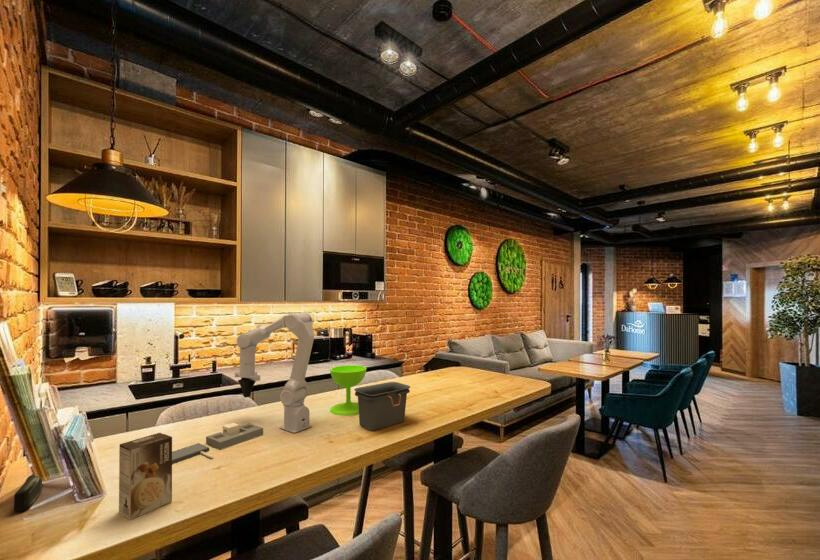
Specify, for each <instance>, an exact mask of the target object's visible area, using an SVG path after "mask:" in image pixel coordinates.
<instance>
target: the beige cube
mask: <svg viewBox="0 0 820 560" xmlns="http://www.w3.org/2000/svg"><path fill="white" fill-rule="evenodd" d="M239 426H240V424H238V423H235V422H231V423H227V424H224V425H222V433H224V434H227V435H229V436H232V435H235V434H238V433H239Z"/></svg>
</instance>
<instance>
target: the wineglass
mask: <svg viewBox="0 0 820 560" xmlns="http://www.w3.org/2000/svg"><path fill="white" fill-rule="evenodd" d="M366 374H367V367H366V366H363V365H352V364H351V365H350V364H347V365H337V366H334V367H332V368H330V376H331V378H332V380H333V381H334V383H335V384H337V385H339V386H340V387H343V388H345V389H346V390H345V391H346V392H345V396H346V397H345V402H341V403H337V404H335V405H332V407H331V408H329V409H330V410H329V411H330V413H331V414H333V415H337V416H354V415H359V407H358V402H355V401H354V402H352V401H351V393H352V391H351V390H352V389H351V388H352V387H355V386H357V385H359V384H360V383H362V381H363V380H364V378H365V376H366Z"/></svg>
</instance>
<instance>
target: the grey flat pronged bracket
mask: <svg viewBox="0 0 820 560" xmlns="http://www.w3.org/2000/svg"><path fill="white" fill-rule="evenodd" d="M208 452H210V447H208V446H206V445H204V444H202V443H199V442H197V443H196V444H192V445H188V446H186V447H185V446H184V447H183V448H182V447H181V448H180V449H179V448H178V449H177V450H172V465H173V464H176V463H179V462H182V461H185V460H187V458H188V459H191V458H193V457H196V456H200V455H202V456H205V457H207V458H209V459H212V460H213V459H214V455H211V454H209V453H208ZM190 457H191V458H190Z"/></svg>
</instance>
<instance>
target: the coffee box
mask: <svg viewBox="0 0 820 560" xmlns="http://www.w3.org/2000/svg"><path fill="white" fill-rule="evenodd" d="M118 446H119V449H118V450H119V460H118V461H119V465H118V467H119V468H118V470H119V471H118V473H119V474H118V483H119V484H118V513H119V514H121V515H122V516H124V517H126V518H127V519H128V520H133V519H136V518H138V517H140V516H143V515H144V514H147V513H149V512H151V511H154V510H156V509H158V508H160V507H162V506H165V505H167V504H170V503H171V502H173V464H172V452H173V437H172V436H170V435H168V434H166V433H163V432H157V433H154V434H150V435H146V436H143V437H139V438H136V439H132V440H129V441H125V442H123V443H120V444H119V445H118Z"/></svg>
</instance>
